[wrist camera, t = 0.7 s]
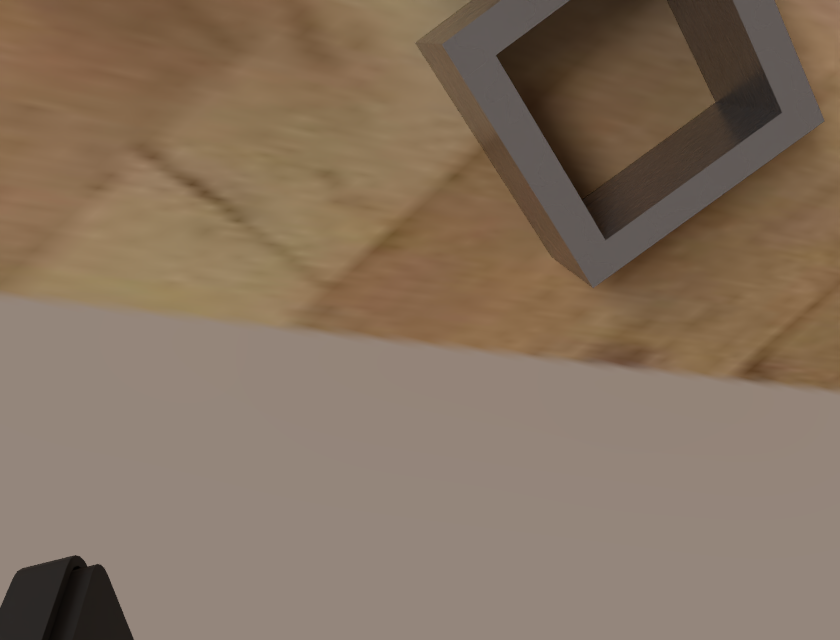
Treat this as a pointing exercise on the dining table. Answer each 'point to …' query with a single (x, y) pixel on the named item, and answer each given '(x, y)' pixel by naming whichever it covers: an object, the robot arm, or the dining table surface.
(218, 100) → the dining table surface
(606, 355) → the dining table surface
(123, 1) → the dining table surface
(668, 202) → the socket
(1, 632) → the robot arm
